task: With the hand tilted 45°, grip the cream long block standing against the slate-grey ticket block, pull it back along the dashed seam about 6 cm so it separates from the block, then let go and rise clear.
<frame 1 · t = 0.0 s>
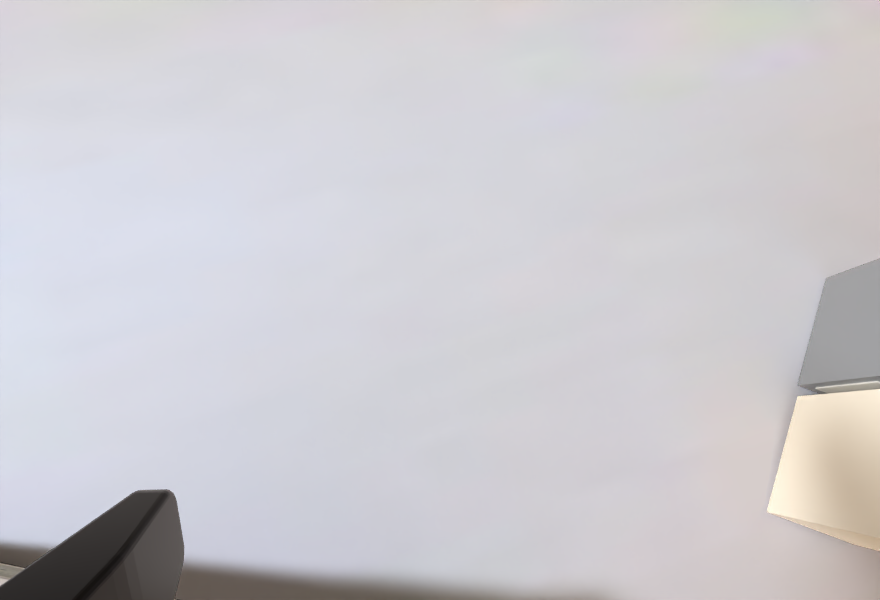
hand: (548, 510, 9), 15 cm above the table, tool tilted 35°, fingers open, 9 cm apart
ticket block: (853, 346, 24), on the table
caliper: (141, 590, 23), on the table
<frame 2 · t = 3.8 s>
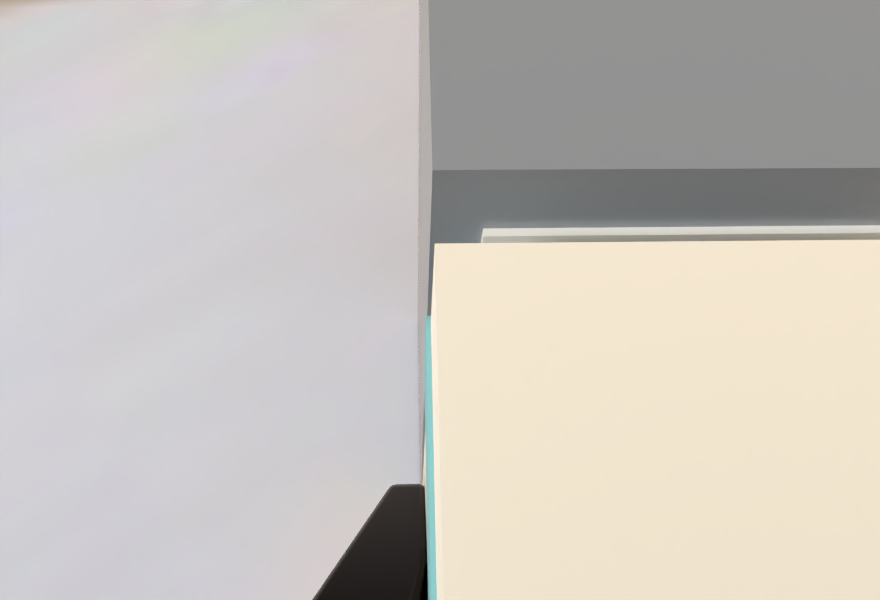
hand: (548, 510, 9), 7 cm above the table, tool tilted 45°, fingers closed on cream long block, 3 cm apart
ticket block: (486, 403, 16), on the table
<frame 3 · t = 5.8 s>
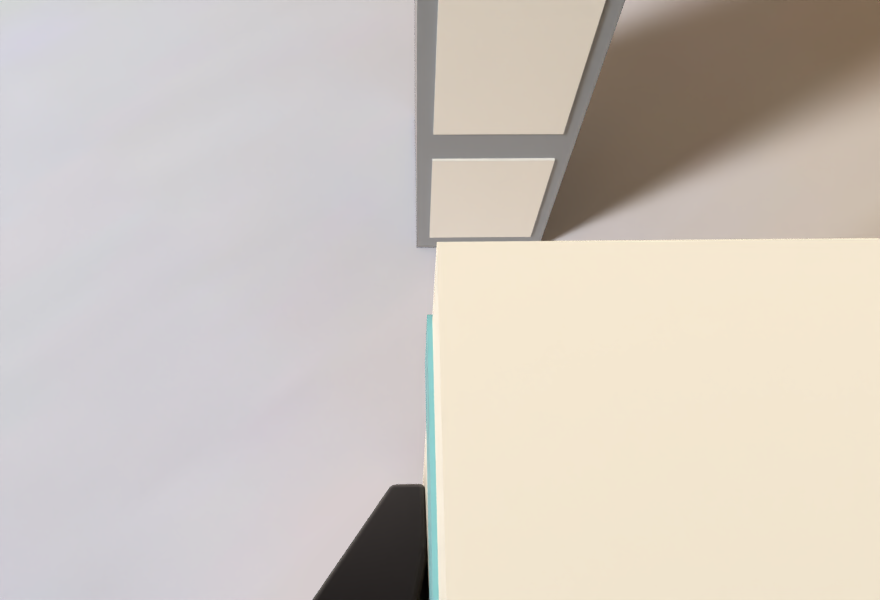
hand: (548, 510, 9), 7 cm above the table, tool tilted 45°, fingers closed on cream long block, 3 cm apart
ticket block: (474, 177, 18), on the table
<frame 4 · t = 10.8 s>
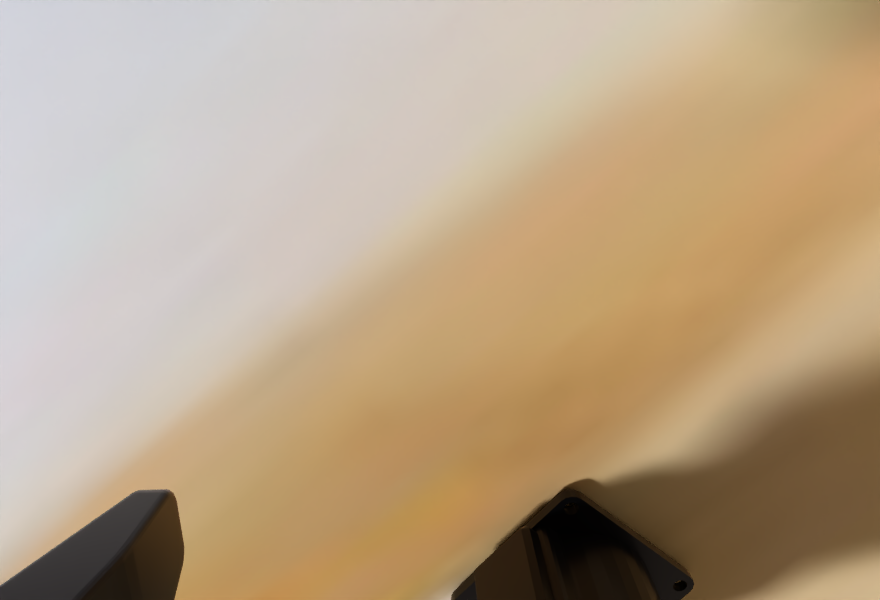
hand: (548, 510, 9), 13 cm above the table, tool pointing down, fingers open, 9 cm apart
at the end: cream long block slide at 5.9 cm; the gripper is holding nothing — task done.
